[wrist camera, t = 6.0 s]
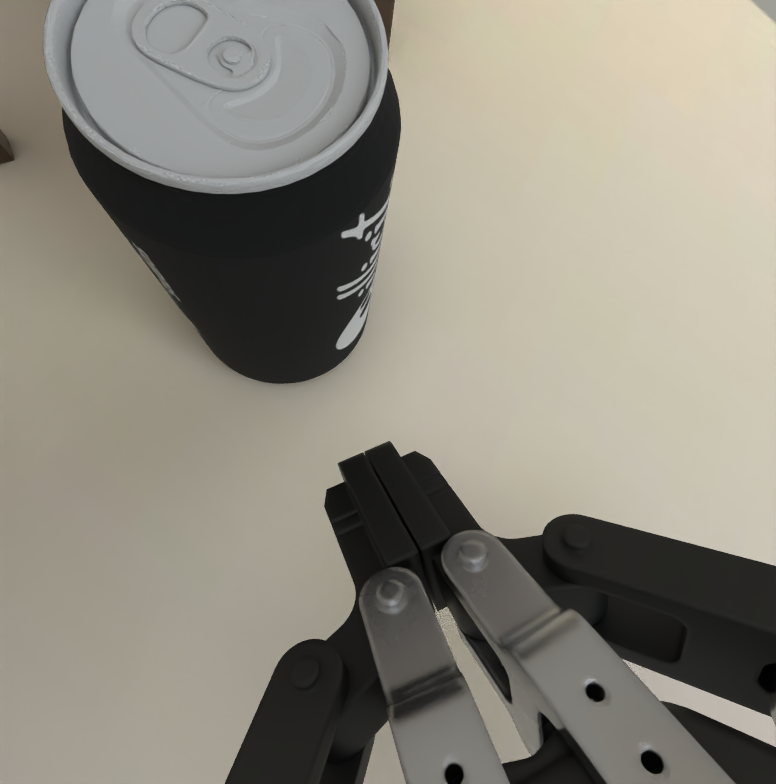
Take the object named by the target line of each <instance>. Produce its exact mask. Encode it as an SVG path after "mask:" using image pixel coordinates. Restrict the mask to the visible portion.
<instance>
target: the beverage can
mask: <svg viewBox="0 0 776 784" xmlns="http://www.w3.org/2000/svg"><path fill="white" fill-rule="evenodd" d="M43 53H44V60H45V66H46V69H47V73H48V76H49V80H50V83H51V85H52V87H53V90H54V92H55V94H56V96H57V98H58V100H59V102H60V104H61V106H62V116H63V126H64V131H65V135H66V139H67V143H68V147H69V151H70V155H71V157H72V159H73V162H74V164H75V166H76V168H77V170H78V173H79V174H80V176H81V178H82V179H83V181H84V182H85V184H86V185H87V187H88V188H89V190H90V191H91V192H92V194H93V195H94V196H95V198H96V199H97V200H98V201H99V203H100V204H101V205H102V207H103V208H104V209H105V211H106V212H107V213H108V215H109V216H110V217H111V219H112V220H113V221H114V223H115V224H116V225H117V226H118V228H119V229H120V230H121V232H122V233H123V234H124V236H125V237H126V238H127V240H128V241H129V242H130V244H131V245H132V246H133V248H134V249H135V250H136V251H137V253H138V254H139V255H140V257H141V258H142V259H143V261H144V262H145V263H146V265H147V266H148V267H149V269H150V270H151V271H152V273H153V274H154V275H155V276H156V278H157V279H158V280H159V282H160V283H161V284H162V286H163V287H164V288H165V290H166V291H167V292H168V294H169V295H170V296H171V298H172V299H173V300H174V301H175V303H176V304H177V305H178V307H179V308H180V309H181V311H182V312H183V313H184V315H185V316H186V317H187V319H188V320H189V321H190V323H191V324H192V325H193V326H194V328H195V329H196V330H197V332H198V333H199V334H200V336H201V337H202V338H203V340H204V341H205V342H206V344H207V345H208V346H209V348H210V349H211V350H212V351H213V353H214V354H215V355H216V356H217V357H218V358H219V359H220V360H221V361H222V362H223V363H225V364H226V365H227V366H228V367H230V368H231V369H233V370H235V371H236V372H238V373H240V374H242V375H244V376H246V377H249V378H252V379H255V380H258V381H263V382H268V383H282V384H283V383H296V382H301V381H305V380H309V379H312V378H315V377H317V376H320V375H322V374H324V373H326V372H328V371H329V370H331V369H332V368H334V367H335V366H337V365H338V364H339V363H340V362H342V361H343V360H344V359H345V358H346V357H347V356H348V355H349V354H350V352H351V351H352V350H353V348H354V347H355V346H356V344H357V342H358V341H359V339H360V337H361V335H362V333H363V330H364V327H365V324H366V320H367V315H368V309H369V304H370V299H371V293H372V288H373V282H374V277H375V272H376V266H377V261H378V255H379V250H380V244H381V239H382V234H383V228H384V223H385V217H386V212H387V207H388V201H389V196H390V190H391V185H392V179H393V174H394V169H395V163H396V158H397V152H398V147H399V141H400V132H401V117H400V107H399V100H398V96H397V92H396V89H395V85H394V82H393V79H392V75H391V73H390V71H389V68H388V47H387V39H386V33H385V28H384V24H383V21H382V18H381V15H380V13H379V10H378V8H377V6H376V4H375V2H374V0H51V2H50V5H49V8H48V11H47V14H46V19H45V24H44V29H43Z"/></svg>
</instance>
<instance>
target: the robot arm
mask: <svg viewBox="0 0 776 784" xmlns="http://www.w3.org/2000/svg"><path fill="white" fill-rule="evenodd" d="M338 466H339V469H340V472H341V474H342V477H343V480H344V482H343V483H341V484H338V485H336V486H334V487H331V488H329V489H327V491H326V498H325V505H324V507H325V509H326V512H327V515H328V517H329V520H330V522H331V525H332V527H333V530H334V533H335V535H336V538H337V540H338V543H339V546H340V548H341V551H342V553H343V556H344V558H345V561H346V564H347V566H348V569H349V571H350V574H351V577H352V579H353V582H354V585H355V589H356V600H355V604H354V607H353V610H352V612H351V614H350V616H349V617H348V619H347V620H346V621H345V623H344V624H343V625H342V626H341V627H340V628H339V629H338V630H337V631H336V632H335V633H334V634H332V635H331V636H330V637H329V638H328V639H327V640H326V641H324V640H321V639H309V640H306V641H303V642H300V643H298V644H296V645H295V646H293V647H292V648H291V649H289V650H288V651H287V652H286V653H285V654H284V655H283V656H282V658H281V659H280V661H279V662H278V664H277V666H276V668H275V670H274V673H273V675H272V677H271V679H270V682H269V684H268V686H267V688H266V691H265V693H264V695H263V698H262V700H261V702H260V704H259V707H258V709H257V711H256V713H255V716H254V718H253V720H252V723H251V725H250V727H249V729H248V732H247V734H246V736H245V739H244V741H243V743H242V745H241V748H240V750H239V752H238V754H237V757H236V759H235V761H234V764H233V766H232V768H231V770H230V773H229V775H228V777H227V779H226V782H225V784H363V781H364V777H365V774H366V770H367V766H368V762H369V758H370V755H371V751H372V747H373V743H374V738H375V734H376V733H377V732H378V731H379V730H380V728H381V727H382V726H383V725H384V724H385V723H386V722H387V721H388V720H389V723H390V727H391V731H392V734H393V738H394V742H395V745H396V749H397V752H398V756H399V759H400V763H401V767H402V770H403V774H404V777H405V781H406V784H776V747H774V746H772V745H770V744H767V743H765V742H763V741H761V740H758V739H756V738H754V737H752V736H750V735H747V734H745V733H743V732H741V731H738V730H736V729H734V728H732V727H729V726H727V725H725V724H723V723H720V722H718V721H716V720H714V719H711V718H709V717H707V716H705V715H702V714H700V713H698V712H696V711H693V710H691V709H688V708H686V707H683V706H679V705H676V704H673V703H669V702H664V701H659V699H658V698H657V697H656V696H655V695H654V694H653V693H652V692H651V691H650V690H649V689H648V687H647V686H646V685H645V684H644V683H643V682H642V681H641V680H640V679H639V678H638V677H637V675H636V674H635V673H634V672H633V671H632V670H631V669H630V668H629V667H628V666H627V664H626V663H625V662H624V661H623V660H622V659H624V660H627V661H629V662H632V663H635V664H637V665H640V666H642V667H645V668H647V669H650V670H652V671H655V672H658V673H660V674H663V675H665V676H668V677H670V678H673V679H675V680H678V681H681V682H683V683H686V684H688V685H691V686H693V687H696V688H699V689H701V690H704V691H706V692H709V693H711V694H714V695H716V696H719V697H722V698H724V699H727V700H729V701H732V702H734V703H737V704H739V705H742V706H745V707H747V708H750V709H752V710H755V711H757V712H760V713H762V714H765V715H768V716H770V717H772V719H773V721H774V723H775V725H776V566H773V565H770V564H766V563H762V562H758V561H754V560H751V559H747V558H743V557H739V556H735V555H732V554H728V553H724V552H720V551H716V550H713V549H709V548H705V547H701V546H697V545H694V544H690V543H686V542H682V541H678V540H675V539H671V538H667V537H663V536H659V535H656V534H652V533H648V532H644V531H640V530H637V529H633V528H629V527H625V526H622V525H618V524H614V523H610V522H606V521H603V520H599V519H595V518H591V517H587V516H583V515H577V514H568V515H562V516H559V517H557V518H555V519H553V520H552V521H550V522H549V523H548V524H547V526H546V527H545V529H544V531H543V535H539V536H532V537H526V538H519V539H505V538H500V537H496V536H494V535H492V534H490V533H488V532H486V531H484V530H483V529H482V528H481V527H480V526H479V525H478V524H477V522H476V521H475V519H474V518H473V517H472V515H471V514H470V513H469V511H468V510H467V509H466V507H465V506H464V504H463V503H462V502H461V500H460V499H459V498H458V496H457V495H456V494H455V492H454V491H453V489H452V488H451V487H450V486H449V485H448V483H447V481H446V480H445V479H444V477H443V476H442V475H441V474H440V472H439V470H438V469H437V468H436V466H435V465H434V463H433V462H432V461H431V459H429V458H427V457H425V456H423V455H422V454H420V453H418V452H416V451H414V452H411V453H409V454H407V455H405V456H402V457H400V455H399V454H398V452H397V451H396V449H395V448H394V446H393V444H392V443H391V442H390V441H388V442H386V443H384V444H381V445H379V446H377V447H374V448H372V449H369V450H367V451H365V455H364V453H360V454H358V455H356V456H353V457H351V458H349V459H346V460H344V461H342V462H339V463H338ZM432 601H433V602H432ZM433 603H434V605H435V607H436V609H437V610H438V611H439V610H441V609H443V608H445V607H447V606H448V608H449V610H450V612H451V614H452V615H453V617H454V619H455V621H456V624H457V628H458V632H459V635H460V637H461V639H462V640H463V642H464V643H465V645H466V646H467V648H468V650H469V651H470V653H471V654H472V656H473V657H474V659H475V660H476V662H477V663H478V665H479V667H480V668H481V670H482V671H483V673H484V674H485V676H486V677H487V679H488V680H489V682H490V684H491V685H492V687H493V688H494V690H495V691H496V693H497V694H498V696H499V697H500V699H501V701H502V702H503V704H504V705H505V707H506V708H507V710H508V712H509V713H510V715H511V717H512V719H513V721H514V724H515V726H516V728H517V730H518V733H519V735H520V737H521V739H522V740H523V742H524V744H525V746H526V748H527V749H528V751H529V753H530V754H531V757H529V758H526V759H522V760H517V761H513V762H508V763H503V764H501V761H500V759H499V757H498V754H497V752H496V750H495V747H494V745H493V743H492V740H491V738H490V736H489V733H488V731H487V729H486V726H485V724H484V722H483V719H482V717H481V715H480V712H479V710H478V708H477V705H476V703H475V701H474V698H473V696H472V694H471V691H470V689H469V687H468V685H467V682H466V680H465V678H464V676H463V675H462V673H461V672H460V671H459V669H458V667H457V665H456V662H455V660H454V658H453V655H452V653H451V651H450V648H449V646H448V644H447V641H446V639H445V637H444V634H443V632H442V629H441V627H440V625H439V622H438V620H437V618H436V615H435V609H434V606H433ZM621 658H622V659H621Z"/></svg>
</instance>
